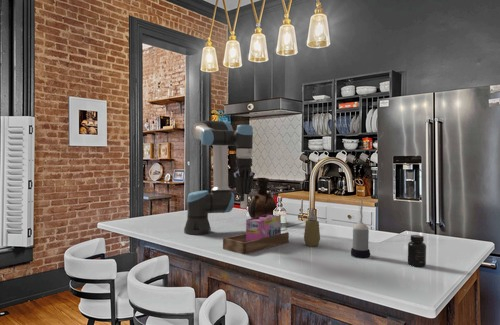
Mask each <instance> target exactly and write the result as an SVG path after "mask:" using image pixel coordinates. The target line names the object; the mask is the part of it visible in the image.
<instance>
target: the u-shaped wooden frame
mask: <svg viewBox="0 0 500 325" xmlns="http://www.w3.org/2000/svg"><path fill="white" fill-rule="evenodd" d="M289 233H290V232H283V233H282V232H281V234H278V235H274V236H270V237H265V238H261V239H257V240H253V241H249V242H246V232H245V233H241V234H237V235H232V236H226V237H223V238H222V249H223V250H227V251H231V252H235V253H238V254H241V255H248V254H252V253H254V252H258V251H261V250H262V251H263V250H265V249H270V248H273V247H276V246H277V247H278V246H280V244H281V245H284V244H288V243H289V241H290V240H289V239H290V237H289V236H290V235H289ZM251 252H252V253H251Z"/></svg>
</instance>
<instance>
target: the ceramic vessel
mask: <svg viewBox="0 0 500 325" xmlns="http://www.w3.org/2000/svg"><path fill="white" fill-rule="evenodd" d="M269 181H270V179H269V178H268V177H264V176H263V177H256V184H257V191H256V192H257V193H256V194H255V195H254V196H253V197H252V198H251V199H250V200H249V202H248V204H247V212H248V215H249V217H250V219H251V218H255V217H259V216H262V215H265V214H271V215H273V210H274V209H275V208H276V207H277V203H276V201H275V199H274V197H272V194H271V191H268V184H269ZM276 209H277V208H276Z"/></svg>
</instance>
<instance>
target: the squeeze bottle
mask: <svg viewBox="0 0 500 325" xmlns="http://www.w3.org/2000/svg"><path fill="white" fill-rule="evenodd" d="M319 222H320V221H319V220H318V216H316V215H315V210H314V208H311V209H310V213H309V215H308V216H307V220H306V221H305V224H304V234H303V240H304V242H305V246H308V247H318V246H319V243H320V241H321V232H320V223H319Z"/></svg>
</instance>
